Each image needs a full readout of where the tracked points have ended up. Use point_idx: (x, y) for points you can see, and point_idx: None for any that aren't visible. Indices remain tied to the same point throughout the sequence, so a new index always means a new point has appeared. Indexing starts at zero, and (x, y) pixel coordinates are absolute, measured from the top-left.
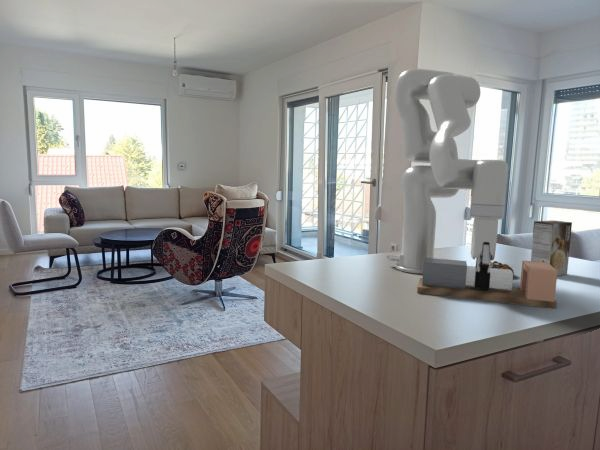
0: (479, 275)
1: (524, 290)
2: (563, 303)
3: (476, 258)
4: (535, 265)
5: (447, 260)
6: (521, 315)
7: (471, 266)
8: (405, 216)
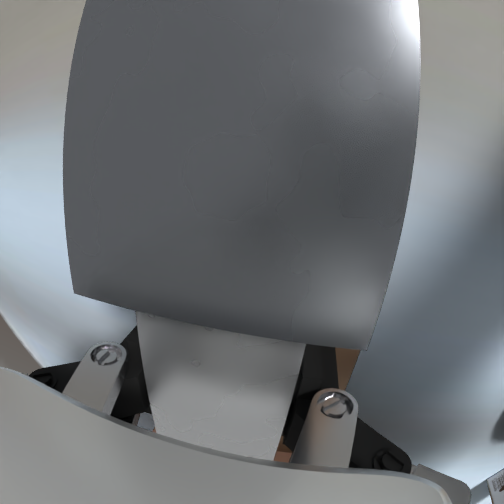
0: (122, 343)
1: (274, 457)
2: None
3: (307, 461)
4: None
5: (326, 66)
6: (62, 349)
7: (283, 360)
8: None
